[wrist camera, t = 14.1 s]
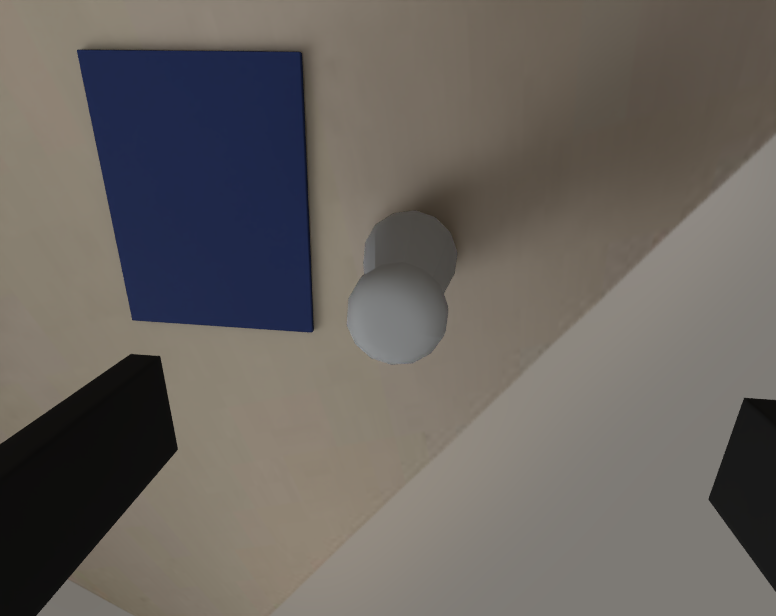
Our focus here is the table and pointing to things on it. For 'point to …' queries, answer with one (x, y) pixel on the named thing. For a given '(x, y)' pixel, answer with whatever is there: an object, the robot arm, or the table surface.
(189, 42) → the table surface
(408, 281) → the salt shaker
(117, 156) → the cloth
